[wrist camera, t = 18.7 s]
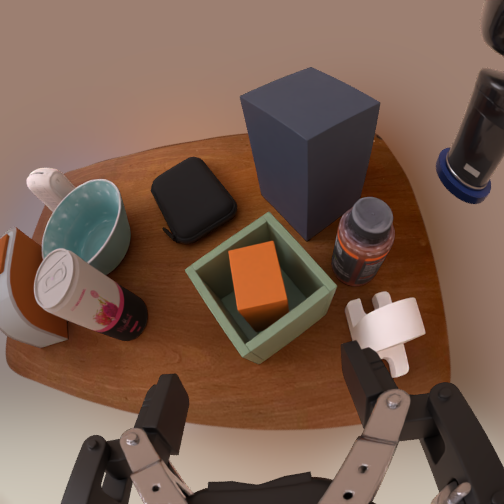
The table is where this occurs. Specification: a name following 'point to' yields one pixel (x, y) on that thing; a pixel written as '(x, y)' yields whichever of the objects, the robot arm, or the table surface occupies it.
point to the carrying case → (192, 200)
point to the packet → (258, 285)
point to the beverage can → (88, 297)
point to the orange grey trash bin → (24, 294)
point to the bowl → (90, 225)
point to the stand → (310, 146)
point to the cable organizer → (386, 328)
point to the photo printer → (49, 186)
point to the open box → (295, 281)
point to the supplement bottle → (362, 241)
